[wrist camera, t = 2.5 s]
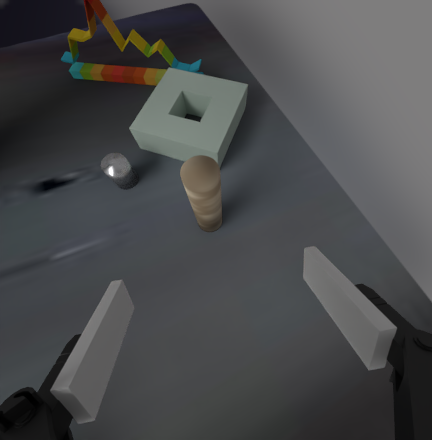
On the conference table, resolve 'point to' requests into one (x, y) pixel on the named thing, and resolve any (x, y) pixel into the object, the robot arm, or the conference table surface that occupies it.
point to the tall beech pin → (203, 190)
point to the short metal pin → (119, 171)
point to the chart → (121, 72)
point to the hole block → (195, 105)
